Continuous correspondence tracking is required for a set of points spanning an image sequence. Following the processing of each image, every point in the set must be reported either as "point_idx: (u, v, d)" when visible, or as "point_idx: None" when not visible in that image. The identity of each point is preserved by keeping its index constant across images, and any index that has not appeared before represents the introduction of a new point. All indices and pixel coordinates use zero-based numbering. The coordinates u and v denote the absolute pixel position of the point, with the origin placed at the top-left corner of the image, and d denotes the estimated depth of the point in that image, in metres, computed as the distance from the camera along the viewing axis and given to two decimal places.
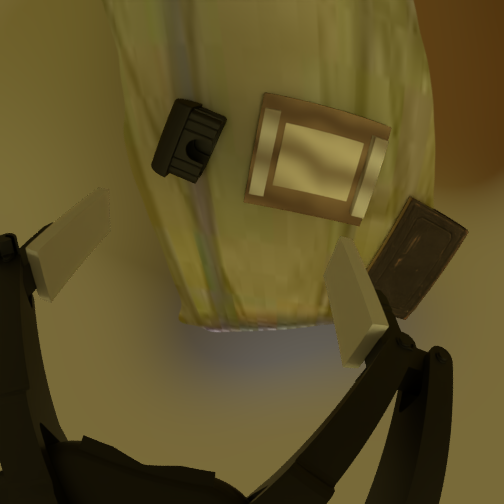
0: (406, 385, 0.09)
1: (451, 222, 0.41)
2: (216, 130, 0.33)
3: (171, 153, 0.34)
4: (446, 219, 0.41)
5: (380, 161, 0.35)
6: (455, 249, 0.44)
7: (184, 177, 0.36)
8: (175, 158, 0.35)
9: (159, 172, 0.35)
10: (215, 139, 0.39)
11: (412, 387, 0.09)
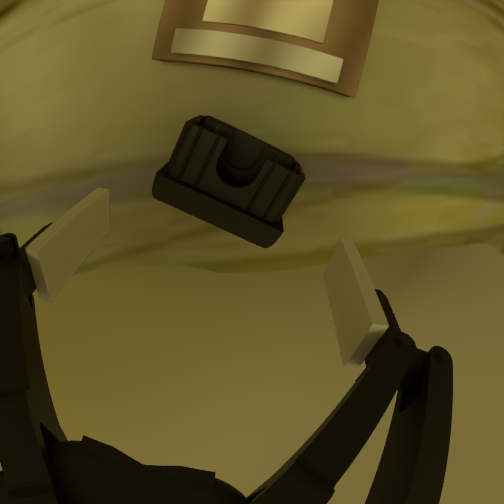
0: (406, 385, 0.09)
1: None
2: (200, 130, 0.18)
3: (238, 213, 0.20)
4: None
5: None
6: None
7: (289, 195, 0.20)
8: (250, 207, 0.20)
9: (272, 239, 0.21)
10: (239, 134, 0.23)
11: (412, 387, 0.09)
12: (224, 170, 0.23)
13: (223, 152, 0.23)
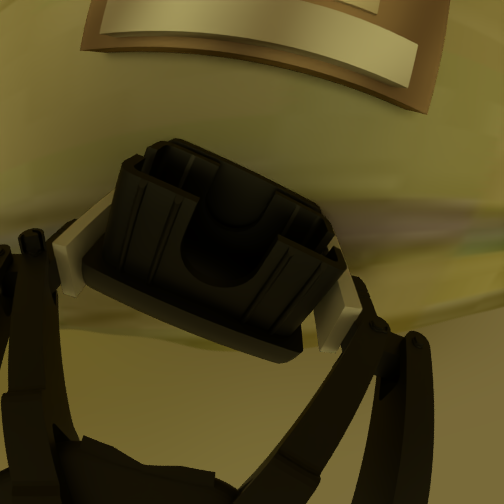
0: (383, 370, 0.10)
1: None
2: (142, 183, 0.09)
3: (225, 330, 0.11)
4: None
5: None
6: None
7: (317, 299, 0.11)
8: (247, 317, 0.11)
9: (284, 360, 0.12)
10: (229, 169, 0.14)
11: (389, 372, 0.10)
12: (206, 231, 0.15)
13: (202, 203, 0.14)
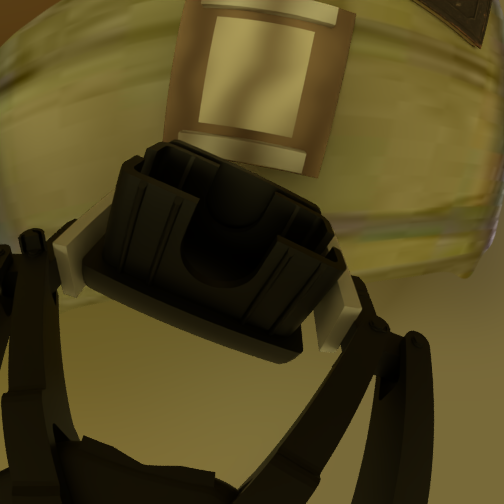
0: (382, 370, 0.10)
1: None
2: (142, 184, 0.09)
3: (225, 331, 0.11)
4: None
5: None
6: None
7: (317, 299, 0.11)
8: (247, 318, 0.11)
9: (284, 360, 0.12)
10: (228, 170, 0.14)
11: (389, 372, 0.10)
12: (206, 232, 0.15)
13: (202, 204, 0.14)
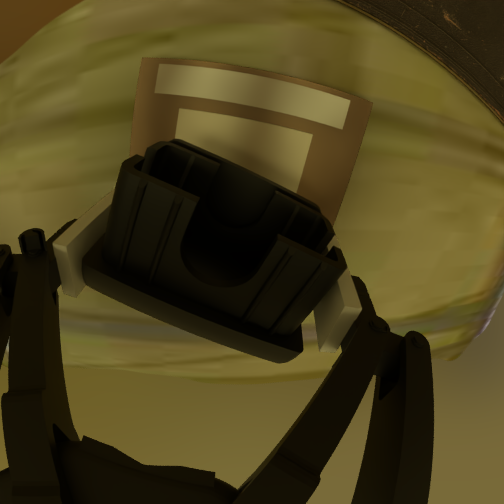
0: (382, 370, 0.10)
1: None
2: (142, 183, 0.09)
3: (225, 330, 0.11)
4: None
5: (205, 72, 0.15)
6: None
7: (317, 298, 0.11)
8: (247, 317, 0.11)
9: (284, 359, 0.12)
10: (229, 169, 0.14)
11: (388, 372, 0.10)
12: (206, 231, 0.15)
13: (202, 203, 0.14)
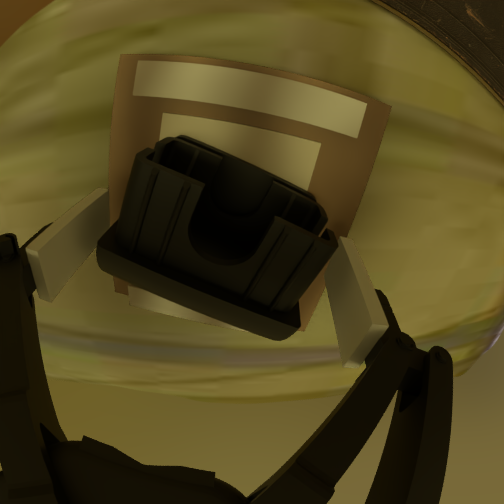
0: (406, 385, 0.09)
1: None
2: (155, 171, 0.10)
3: (229, 306, 0.12)
4: None
5: (192, 69, 0.12)
6: None
7: (312, 275, 0.12)
8: (248, 294, 0.13)
9: (284, 336, 0.13)
10: (230, 162, 0.15)
11: (412, 387, 0.09)
12: (210, 219, 0.16)
13: (206, 193, 0.15)
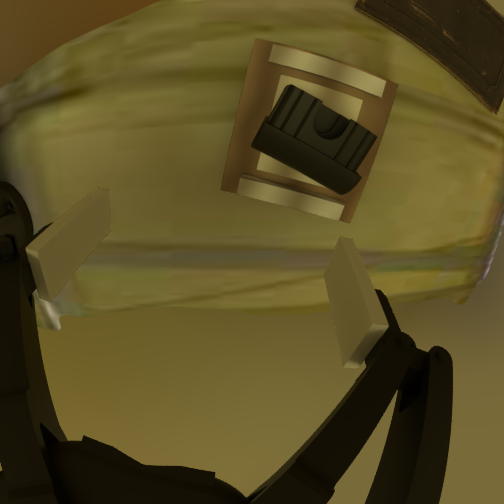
0: (406, 385, 0.09)
1: None
2: (302, 91, 0.21)
3: (329, 160, 0.23)
4: None
5: (303, 54, 0.23)
6: None
7: (367, 149, 0.23)
8: (337, 156, 0.24)
9: (353, 183, 0.24)
10: None
11: (412, 387, 0.09)
12: None
13: None
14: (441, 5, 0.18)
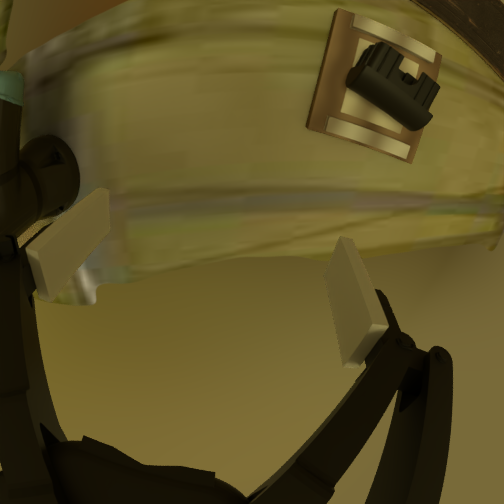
0: (406, 385, 0.09)
1: None
2: (390, 47, 0.22)
3: (411, 99, 0.25)
4: None
5: (377, 24, 0.24)
6: None
7: (434, 95, 0.24)
8: (415, 98, 0.25)
9: (427, 120, 0.26)
10: None
11: (412, 387, 0.09)
12: None
13: None
14: None
